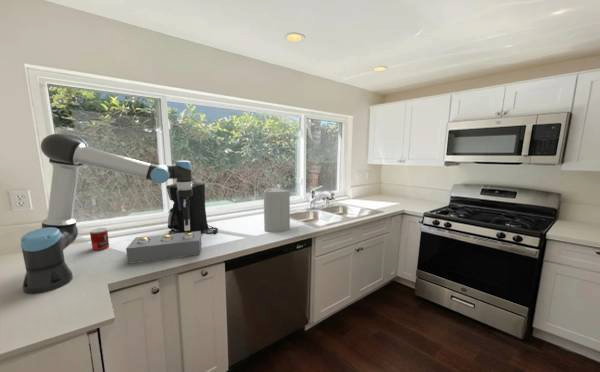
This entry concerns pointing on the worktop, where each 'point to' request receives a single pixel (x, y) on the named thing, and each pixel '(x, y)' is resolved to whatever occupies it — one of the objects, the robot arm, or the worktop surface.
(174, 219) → the coffee maker
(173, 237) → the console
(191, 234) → the knob far
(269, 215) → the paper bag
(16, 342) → the worktop surface
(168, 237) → the knob middle
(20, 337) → the worktop surface
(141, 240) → the knob near
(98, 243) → the canned food
